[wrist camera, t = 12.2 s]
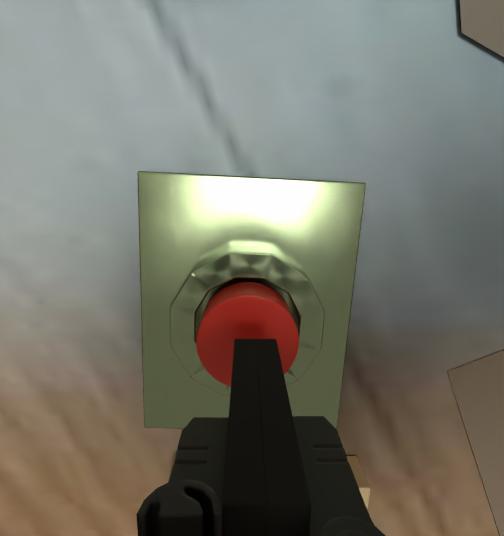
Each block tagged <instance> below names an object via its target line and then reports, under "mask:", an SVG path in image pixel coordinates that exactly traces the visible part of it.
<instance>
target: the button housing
mask: <svg viewBox="0 0 504 536" xmlns="http://www.w3.org/2000/svg"><path fill="white" fill-rule="evenodd" d="M365 187H366V183H360V182H340V181H321V180H301V179H282V178H262V177H242V176H223V175H203V174H184V173H164V172H145V171H138V207H139V244H140V282H141V320H142V358H143V396H144V427H145V428H181V429H184V428H185V427H186V426H187V425H188V423H189V422H190V421H191V420H192V419H193V417H229V405H230V392H231V387H230V386H227V385H225V384H222V383H221V382H219V381H217V380H216V379H215V378H213V377H212V376H211V375H210V374H209V373H208V372H207V371H206V369H205V368H204V366H203V365H202V363H201V361H200V359H199V356H198V353H197V348H196V337H197V332H198V328H199V325H200V321H201V318H202V315H203V312H204V310H205V307H206V306H207V304H208V302H209V301H210V299H211V298H212V297H213V296H214V295H215V294H216V293H217V292H219V291H220V290H222V289H223V288H225V287H227V286H229V285H232V284H236V283H241V282H254V283H259V284H263V285H265V286H268V287H270V288H271V289H273V290H275V291H276V292H277V293H278V294H279V295H281V296H282V298H283V299H284V300H285V301H286V303H287V305H288V307H289V309H290V311H291V314H292V316H293V319H294V321H295V324H296V326H297V330H298V335H299V348H298V352H297V356H296V358H295V361H294V363H293V364H292V366H291V367H290V369H289V370H288V371H287V372H286V374H284V378H285V383H286V387H287V392H288V397H289V402H290V406H291V411H292V416H324V417H325V418H326V419H327V420H328V421H329V422H330V423H331V424H332V425H333V426H334V427H335V428H336V429H337V421H338V412H339V404H340V396H341V387H342V379H343V371H344V362H345V354H346V346H347V337H348V329H349V321H350V312H351V304H352V296H353V287H354V279H355V271H356V262H357V254H358V246H359V237H360V229H361V221H362V212H363V204H364V196H365Z"/></svg>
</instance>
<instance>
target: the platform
mask: <svg viewBox="0 0 504 536" xmlns="http://www.w3.org/2000/svg"><path fill="white" fill-rule="evenodd" d="M447 373H448V376H449V379H450V382H451V385H452V388H453V391H454V394H455V397H456V401H457V404H458V407H459V410H460V413H461V416H462V419H463V422H464V425H465V429H466V432H467V435H468V438H469V441H470V444H471V447H472V450H473V453H474V457H475V460H476V463H477V466H478V469H479V472H480V475H481V478H482V481H483V485H484V488H485V491H486V494H487V497H488V500H489V503H490V506H491V509H492V512H493V516H494V519H495V522H496V525H497V528H498V531H499V534H500V536H504V350H502V351H500V352H497V353H494V354H492V355H489V356H487V357H484V358H481V359H479V360H476V361H474V362H471V363H468V364H466V365H463V366H461V367H458V368H455V369H453V370H450V371H448V372H447Z"/></svg>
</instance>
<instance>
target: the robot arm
mask: <svg viewBox="0 0 504 536" xmlns="http://www.w3.org/2000/svg"><path fill="white" fill-rule="evenodd" d="M137 526H138V536H385V535H384V534H383V533H382V532H381V531H380V530H379V529H378V528H377V527H375V526H374V524H373V522H372V520H371V518H370V516H369V513H368V511H367V508H366V506H365V503H364V500H363V498H362V495H361V492H360V490H359V487H358V485H357V482H356V479H355V477H354V474H353V472H352V469H351V466H350V464H349V462H348V460H347V456H346V453H345V451H344V448H342V443H341V440H340V438H339V435H338V432H337V430H336V428H335V427H334V426H333V425H332V424H331V423H330V422H329V421H328V420H327V419H326V418H325V417H324V416H292V411H291V406H290V402H289V397H288V392H287V387H286V383H285V378H284V373H283V368H282V364H281V359H280V354H279V349H278V345H277V340H276V339H234V352H233V365H232V378H231V392H230V405H229V417H193V419H192V420H191V421H190V422H189V423H188V425H187V426H186V427H185V428H184V429H183V430H182V434H181V437H180V441H179V445H178V450H177V452H176V456H175V460H174V464H173V467H172V471H171V475H170V479H169V483H167V484H165V485H163V486H161V487H159V488H157V489H156V490H155V491H154V492H152V493H151V494H150V495H149V496H148V497H147V498H146V499H145V500H144V502H143V504H142V505H141V507H140V509H139V511H138V513H137Z"/></svg>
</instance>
